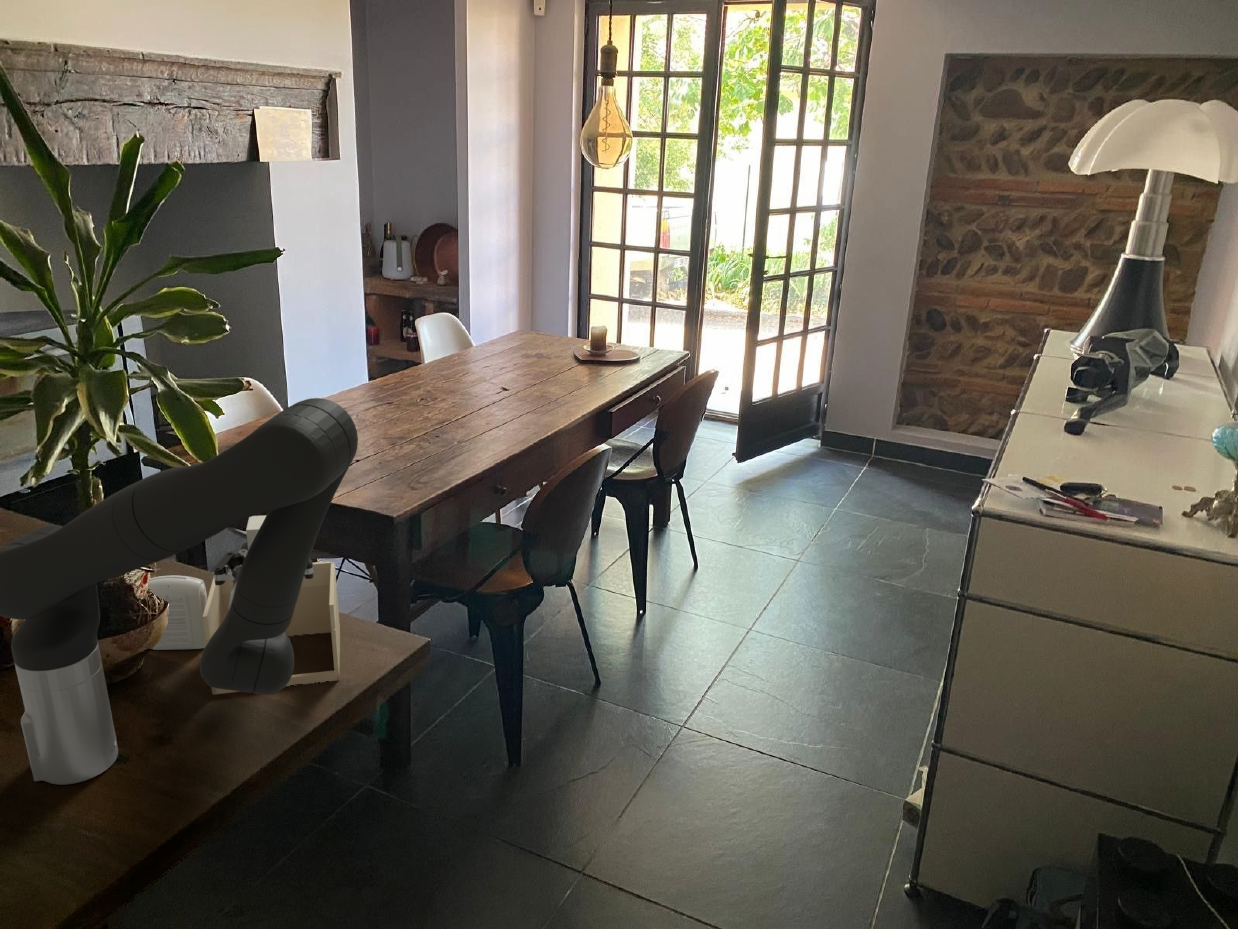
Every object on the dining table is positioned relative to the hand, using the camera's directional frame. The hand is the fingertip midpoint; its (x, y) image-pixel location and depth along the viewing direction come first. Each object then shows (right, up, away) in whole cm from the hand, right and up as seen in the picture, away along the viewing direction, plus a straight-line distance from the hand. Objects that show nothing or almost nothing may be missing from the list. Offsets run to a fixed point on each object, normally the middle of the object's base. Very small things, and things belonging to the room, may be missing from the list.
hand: (269, 544), depth 143 cm
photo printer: (-18, -17, +8) cm, 26 cm away
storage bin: (0, -19, +5) cm, 19 cm away
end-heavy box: (0, -8, 0) cm, 7 cm away
